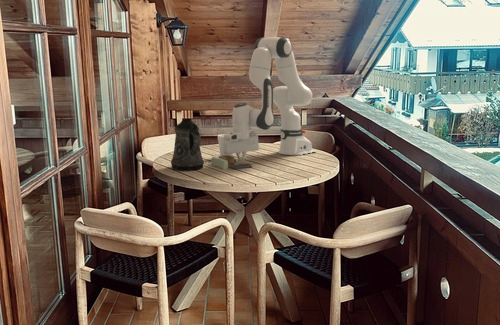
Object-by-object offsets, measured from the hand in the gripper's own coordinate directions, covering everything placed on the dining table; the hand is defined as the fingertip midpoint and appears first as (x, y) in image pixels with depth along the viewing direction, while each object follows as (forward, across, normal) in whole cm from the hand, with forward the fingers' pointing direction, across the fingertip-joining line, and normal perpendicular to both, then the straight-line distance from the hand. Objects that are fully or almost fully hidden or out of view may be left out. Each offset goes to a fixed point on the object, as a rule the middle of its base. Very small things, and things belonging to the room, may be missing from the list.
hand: (241, 160), depth 266 cm
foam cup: (+2, 0, -17) cm, 17 cm away
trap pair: (+2, +5, 0) cm, 5 cm away
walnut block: (+2, +9, 0) cm, 9 cm away
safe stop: (+2, +13, 0) cm, 13 cm away
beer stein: (+2, +28, -4) cm, 28 cm away
